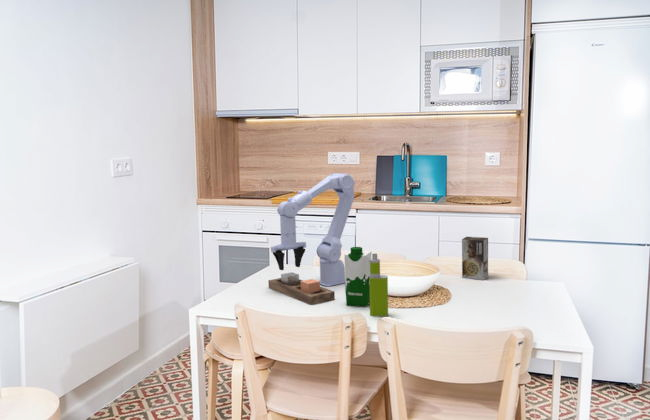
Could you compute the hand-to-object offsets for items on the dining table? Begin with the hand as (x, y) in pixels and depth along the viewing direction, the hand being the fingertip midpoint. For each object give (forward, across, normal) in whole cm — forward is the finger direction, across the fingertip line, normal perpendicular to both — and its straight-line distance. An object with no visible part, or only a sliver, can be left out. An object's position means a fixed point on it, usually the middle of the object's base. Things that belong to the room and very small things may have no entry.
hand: (289, 268), depth 215 cm
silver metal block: (+6, 0, 0) cm, 6 cm away
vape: (+9, -6, +45) cm, 46 cm away
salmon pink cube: (+6, 0, +14) cm, 15 cm away
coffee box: (+9, -67, +33) cm, 75 cm away
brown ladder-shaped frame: (+8, 0, +7) cm, 11 cm away
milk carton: (+9, -9, +31) cm, 33 cm away
